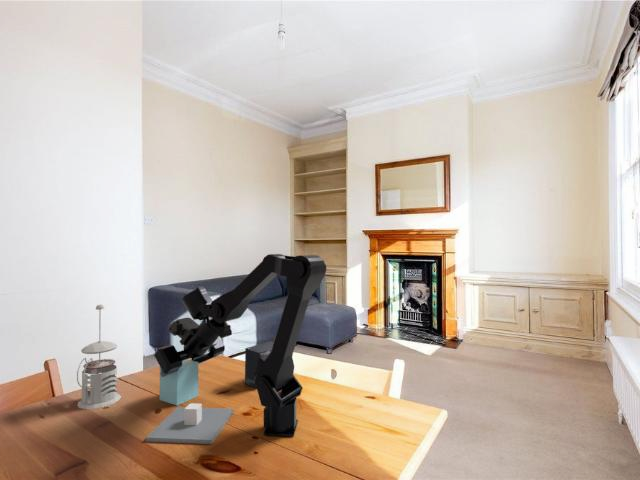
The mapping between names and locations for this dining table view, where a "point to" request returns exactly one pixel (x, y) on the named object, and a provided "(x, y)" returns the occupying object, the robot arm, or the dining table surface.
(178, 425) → the post board
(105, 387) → the french press
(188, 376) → the pale blue cube block
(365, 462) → the dining table surface
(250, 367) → the small box
